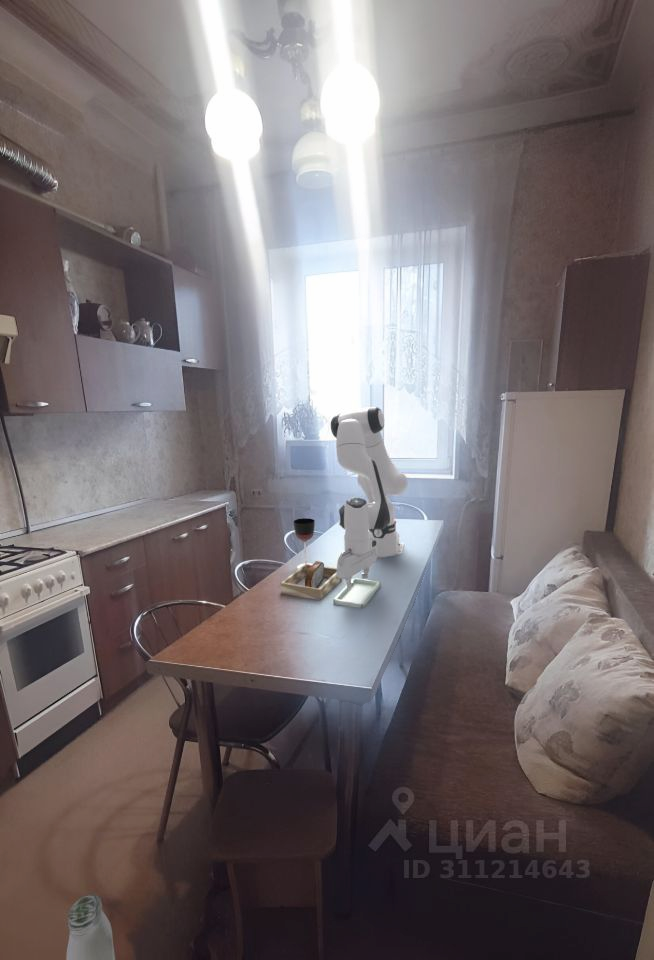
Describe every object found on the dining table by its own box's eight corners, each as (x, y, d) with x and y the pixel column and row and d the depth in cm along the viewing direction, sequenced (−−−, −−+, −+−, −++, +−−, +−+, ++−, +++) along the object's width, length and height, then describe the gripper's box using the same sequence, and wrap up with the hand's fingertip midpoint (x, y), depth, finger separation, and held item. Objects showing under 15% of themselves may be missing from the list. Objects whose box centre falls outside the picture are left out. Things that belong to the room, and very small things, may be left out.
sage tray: (353, 583, 166) (353, 577, 166) (380, 587, 162) (380, 581, 161) (333, 605, 148) (333, 599, 148) (362, 611, 144) (362, 604, 144)
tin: (318, 577, 172) (317, 557, 171) (325, 578, 171) (325, 558, 170) (304, 594, 158) (303, 572, 157) (312, 595, 157) (311, 573, 156)
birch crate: (305, 573, 177) (305, 563, 176) (342, 578, 170) (342, 569, 170) (280, 593, 159) (280, 583, 158) (320, 600, 152) (320, 589, 152)
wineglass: (313, 571, 179) (312, 524, 175) (293, 569, 180) (291, 523, 177) (318, 563, 186) (316, 518, 183) (298, 562, 188) (296, 518, 184)
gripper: (346, 555, 142) (347, 595, 144) (380, 539, 157) (380, 575, 160) (331, 552, 146) (332, 590, 148) (365, 536, 161) (365, 571, 164)
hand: (357, 582), depth 154 cm, fingers open, 8 cm apart
